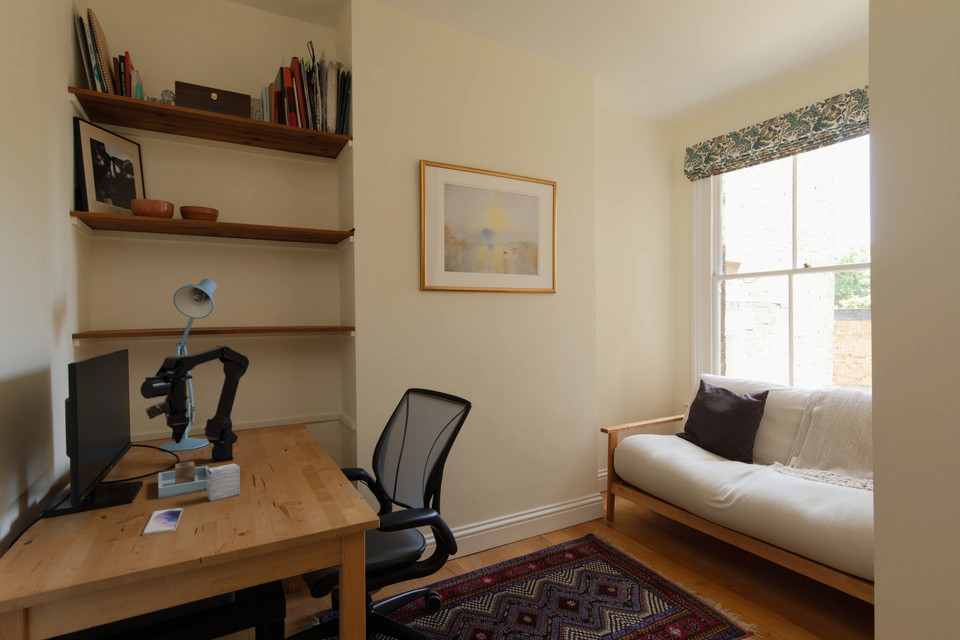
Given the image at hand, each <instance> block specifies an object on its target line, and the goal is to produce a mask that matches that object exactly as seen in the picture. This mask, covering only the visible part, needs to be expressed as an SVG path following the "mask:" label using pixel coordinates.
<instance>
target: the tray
mask: <svg viewBox="0 0 960 640" xmlns="http://www.w3.org/2000/svg"><path fill="white" fill-rule="evenodd" d="M209 468H210V467H209V465H202V466H198V467H197V466H195V482H189V483H182V484H176V485H175V470H171V471H170V470H169V471H164V472H158V481H157V482H158V483H157V484H158V487H157V488H158V489H157V490H158V499H163V498H164V499H165V498H169V497H176V496H181V495H187V494H192V493H199V492H205V491H207V469H209Z"/></svg>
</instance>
